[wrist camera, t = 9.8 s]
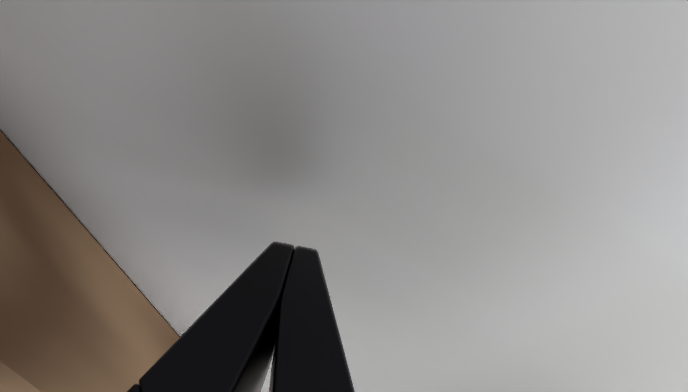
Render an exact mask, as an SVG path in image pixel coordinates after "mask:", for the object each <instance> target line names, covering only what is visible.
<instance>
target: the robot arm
mask: <svg viewBox="0 0 688 392" xmlns="http://www.w3.org/2000/svg"><path fill="white" fill-rule="evenodd" d="M273 352H274V353H273ZM272 356H273V361H272V368H271V377H270V387H269V392H355V391H354V387H353V384H352V380H351V376H350V372H349V368H348V365H347V361H346V357H345V353H344V349H343V346H342V342H341V338H340V334H339V330H338V327H337V323H336V319H335V315H334V311H333V307H332V304H331V300H330V296H329V292H328V288H327V285H326V281H325V277H324V273H323V269H322V266H321V262H320V258H319V254H318V252H317V250H315V249H311V248H306V247H301V246H297V247H296V248H294V246H293V245H291V244H286V243H281V242H273V243H271V244H270V245H269V246H268V247H267V248H266V249H265V250H264V251H263V252H262V253H261V254H260V255H259V256H258V257H257V259H256V260H255V261H254V262H253V263H252V264H251V265H250V266H249V267H248V268H247V269H246V270H245V271H244V272H243V273H242V274H241V275H240V276H239V277H238V278H237V279H236V280H235V281H234V282H233V283H232V284H231V285H230V286H229V287H228V288H227V289H226V290H225V291H224V292H223V294H222V295H221V296H220V297H219V298H218V299H217V300H216V301H215V302H214V303H213V304H212V305H211V306H210V307H209V308H208V309H207V310H206V311H205V312H204V313H203V314H202V315H201V316H200V317H199V318H198V319H197V320H196V321H195V322H194V323H193V324H192V325H191V326H190V327H189V329H188V330H187V331H186V332H185V333H184V334H183V335H182V336H181V337H180V338H179V339H178V340H177V341H176V342H175V343H174V344H173V345H172V346H171V347H170V348H169V349H168V350H167V351H166V352H165V353H164V354H163V355H162V356H161V357H160V358H159V359H158V360H157V361H156V363H155V364H154V365H153V366H152V367H151V368H150V369H149V370H148V371H147V372H146V373H145V374H144V375H143V376H142V377H141V378H140V379H139V384H134V385H133V386H132V387H131V388H130V389H129V390H128V391H127V392H260V391H261V389H262V386H263V383H264V380H265V378H266V375H267V372H268V369H269V366H270V363H271V360H272Z"/></svg>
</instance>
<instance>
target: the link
mask: <svg viewBox="0 0 688 392" xmlns="http://www.w3.org/2000/svg"><path fill="white" fill-rule="evenodd" d="M179 338H180V337H179V336H178V335H177V334H176V332H175V331H174V330H173V329H172V328H171V327H170V326H169V324H168V323H167V322H166V321H165V320H164V319H163V318H162V316H161V315H160V314H159V313H158V312H157V311H156V309H155V308H154V307H153V306H152V305H151V304H150V303H149V301H148V300H147V299H146V298H145V297H144V296H143V294H142V293H141V292H140V291H139V290H138V289H137V288H136V286H135V285H134V284H133V283H132V282H131V281H130V280H129V278H128V277H127V276H126V275H125V274H124V273H123V271H122V270H121V269H120V268H119V267H118V266H117V265H116V263H115V262H114V261H113V260H112V259H111V258H110V256H109V255H108V254H107V253H106V252H105V251H104V250H103V248H102V247H101V246H100V245H99V244H98V243H97V241H96V240H95V239H94V238H93V237H92V236H91V235H90V233H89V232H88V231H87V230H86V229H85V228H84V227H83V225H82V224H81V223H80V222H79V221H78V220H77V218H76V217H75V216H74V215H73V214H72V213H71V212H70V210H69V209H68V208H67V207H66V206H65V205H64V203H63V202H62V201H61V200H60V199H59V198H58V197H57V195H56V194H55V193H54V192H53V191H52V190H51V189H50V187H49V186H48V185H47V184H46V183H45V182H44V180H43V179H42V178H41V177H40V176H39V175H38V174H37V172H36V171H35V170H34V169H33V168H32V167H31V165H30V164H29V163H28V162H27V161H26V160H25V159H24V157H23V156H22V155H21V154H20V153H19V152H18V150H17V149H16V148H15V147H14V146H13V145H12V144H11V142H10V141H9V140H8V139H7V138H6V137H5V136H4V134H3V133H2V132H1V131H0V392H127V391H128V390H129V389H130V388H131V387H132V386H133V385H134V384H139V379H140V378H141V377H142V376H143V375H144V374H145V373H146V372H147V371H148V370H149V369H150V368H151V367H152V366H153V365H154V364H155V363H156V361H157V360H158V359H159V358H160V357H161V356H162V355H163V354H164V353H165V352H166V351H167V350H168V349H169V348H170V347H171V346H172V345H173V344H174V343H175V342H176V341H177V340H178V339H179Z"/></svg>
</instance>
